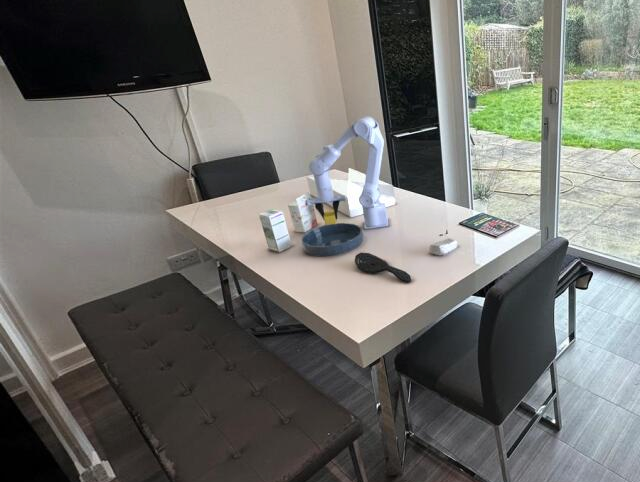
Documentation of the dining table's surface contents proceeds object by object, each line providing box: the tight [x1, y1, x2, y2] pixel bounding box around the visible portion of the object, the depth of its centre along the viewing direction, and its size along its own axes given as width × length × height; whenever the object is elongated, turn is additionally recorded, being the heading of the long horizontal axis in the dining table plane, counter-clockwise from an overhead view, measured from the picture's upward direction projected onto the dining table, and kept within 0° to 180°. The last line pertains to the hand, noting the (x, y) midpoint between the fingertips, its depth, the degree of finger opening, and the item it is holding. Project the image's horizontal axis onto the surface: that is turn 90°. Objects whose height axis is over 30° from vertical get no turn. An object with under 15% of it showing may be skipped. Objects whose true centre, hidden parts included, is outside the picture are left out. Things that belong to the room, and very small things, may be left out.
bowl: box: [301, 222, 364, 257], centre depth 154 cm, size 21×21×4 cm
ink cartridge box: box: [287, 191, 318, 233], centre depth 166 cm, size 9×5×15 cm, turn 168°
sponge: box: [323, 209, 338, 226], centre depth 170 cm, size 4×7×4 cm, turn 19°
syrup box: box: [258, 209, 292, 253], centre depth 149 cm, size 6×6×14 cm
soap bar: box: [429, 237, 458, 256], centre depth 148 cm, size 10×6×6 cm, turn 134°
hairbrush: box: [354, 251, 412, 283], centre depth 135 cm, size 8×4×25 cm
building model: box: [306, 167, 396, 218], centre depth 199 cm, size 45×22×10 cm, turn 46°
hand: (330, 218), depth 170 cm, fingers closed on sponge, 4 cm apart
